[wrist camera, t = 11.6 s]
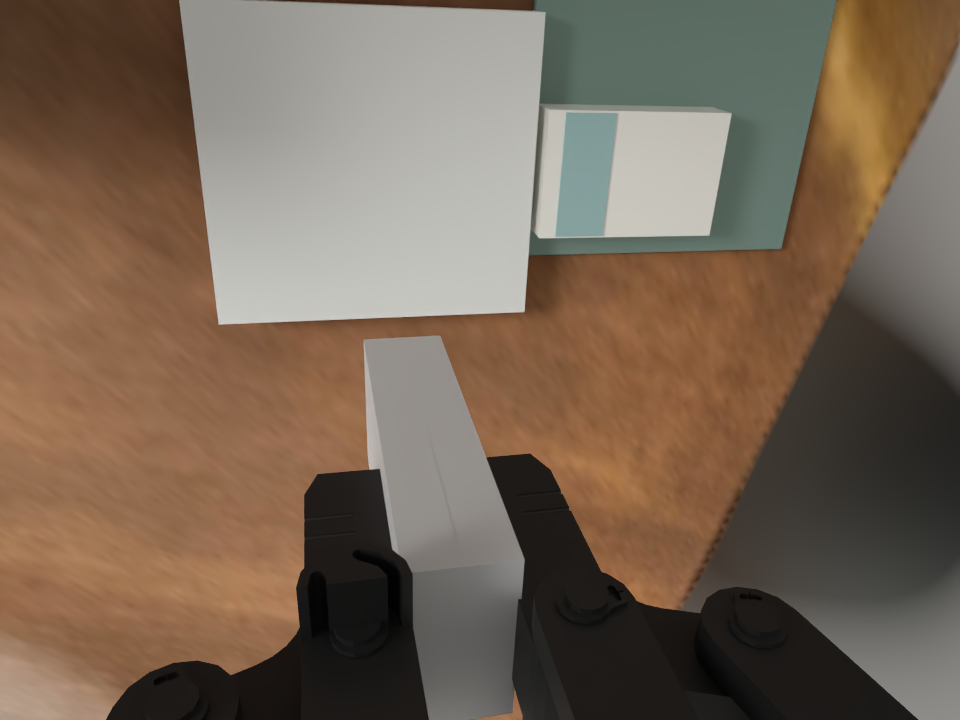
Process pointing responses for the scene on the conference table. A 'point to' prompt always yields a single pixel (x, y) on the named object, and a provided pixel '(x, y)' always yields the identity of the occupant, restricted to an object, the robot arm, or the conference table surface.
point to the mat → (698, 96)
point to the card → (627, 170)
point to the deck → (364, 156)
